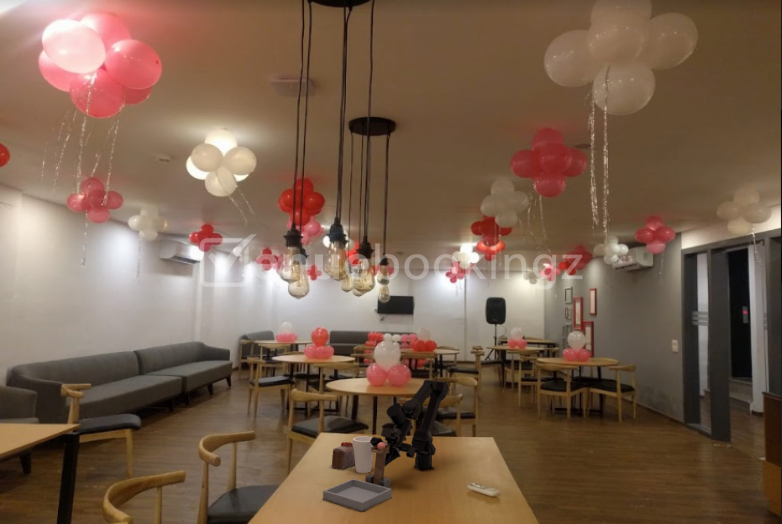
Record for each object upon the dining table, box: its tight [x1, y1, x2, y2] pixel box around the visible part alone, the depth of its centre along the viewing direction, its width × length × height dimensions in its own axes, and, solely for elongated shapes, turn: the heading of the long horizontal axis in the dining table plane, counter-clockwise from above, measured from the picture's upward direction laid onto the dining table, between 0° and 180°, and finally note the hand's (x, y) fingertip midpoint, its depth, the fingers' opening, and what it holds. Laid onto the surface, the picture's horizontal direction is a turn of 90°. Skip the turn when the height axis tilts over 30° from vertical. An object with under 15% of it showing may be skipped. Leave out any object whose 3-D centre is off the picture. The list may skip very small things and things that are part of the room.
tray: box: [322, 478, 393, 513], centre depth 191 cm, size 17×18×3 cm
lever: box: [371, 445, 390, 485], centre depth 202 cm, size 5×5×15 cm
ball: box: [377, 442, 385, 450], centre depth 204 cm, size 3×3×3 cm
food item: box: [331, 441, 355, 471], centre depth 230 cm, size 14×8×10 cm, turn 153°
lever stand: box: [365, 473, 392, 489], centre depth 201 cm, size 4×9×4 cm, turn 55°
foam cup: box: [352, 435, 375, 474], centre depth 223 cm, size 10×9×13 cm
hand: (383, 466), depth 204 cm, fingers closed
